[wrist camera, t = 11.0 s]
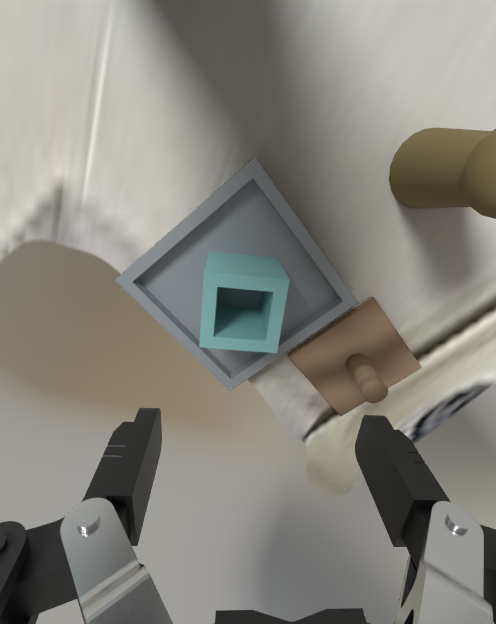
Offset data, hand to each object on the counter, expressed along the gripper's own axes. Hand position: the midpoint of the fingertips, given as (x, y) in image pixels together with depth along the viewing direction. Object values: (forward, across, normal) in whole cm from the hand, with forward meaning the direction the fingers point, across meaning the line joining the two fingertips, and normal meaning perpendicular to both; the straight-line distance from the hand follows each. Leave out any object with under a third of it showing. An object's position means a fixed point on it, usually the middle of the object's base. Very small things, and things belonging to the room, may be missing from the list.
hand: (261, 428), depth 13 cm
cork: (+19, -14, -10) cm, 26 cm away
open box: (+18, 0, +1) cm, 18 cm away
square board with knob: (+18, -12, +8) cm, 23 cm away
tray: (+18, 0, +1) cm, 19 cm away
